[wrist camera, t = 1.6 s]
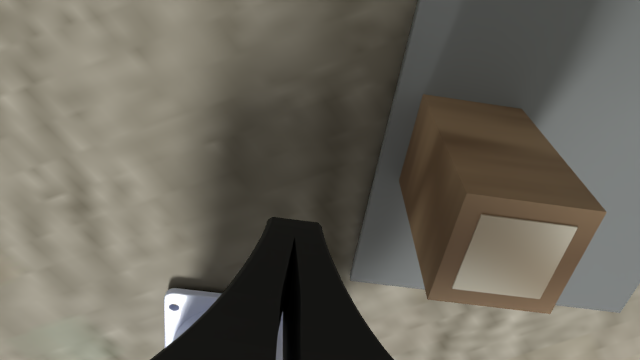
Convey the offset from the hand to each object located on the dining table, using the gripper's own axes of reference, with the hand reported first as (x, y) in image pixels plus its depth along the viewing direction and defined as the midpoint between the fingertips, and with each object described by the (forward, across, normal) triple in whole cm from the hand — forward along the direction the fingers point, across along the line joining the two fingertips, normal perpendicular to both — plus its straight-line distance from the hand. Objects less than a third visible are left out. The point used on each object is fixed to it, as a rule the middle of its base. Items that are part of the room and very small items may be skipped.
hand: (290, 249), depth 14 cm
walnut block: (+8, -6, 0) cm, 10 cm away
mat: (+8, -10, 0) cm, 13 cm away
